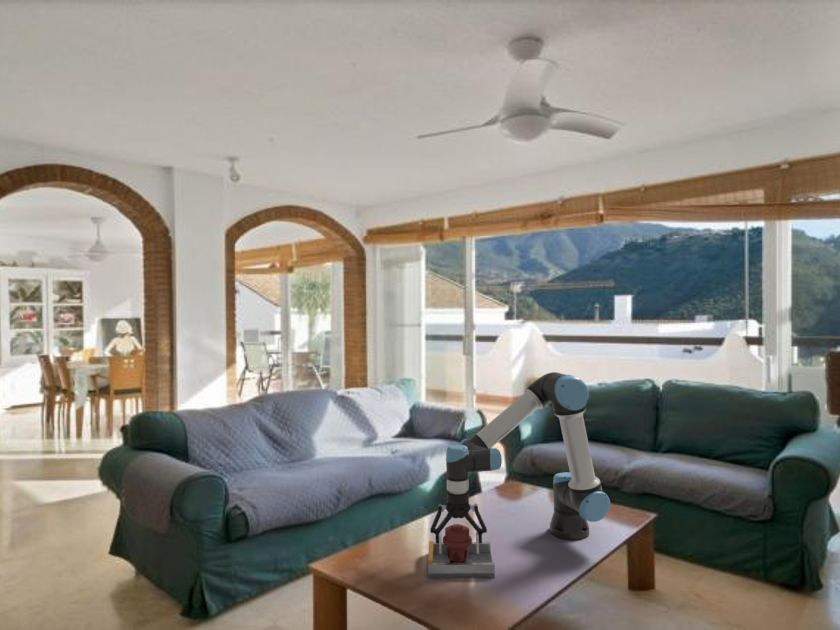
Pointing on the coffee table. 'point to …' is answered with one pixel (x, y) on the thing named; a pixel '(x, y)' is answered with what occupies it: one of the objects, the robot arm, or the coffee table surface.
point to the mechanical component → (457, 542)
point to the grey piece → (470, 568)
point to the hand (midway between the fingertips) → (459, 552)
